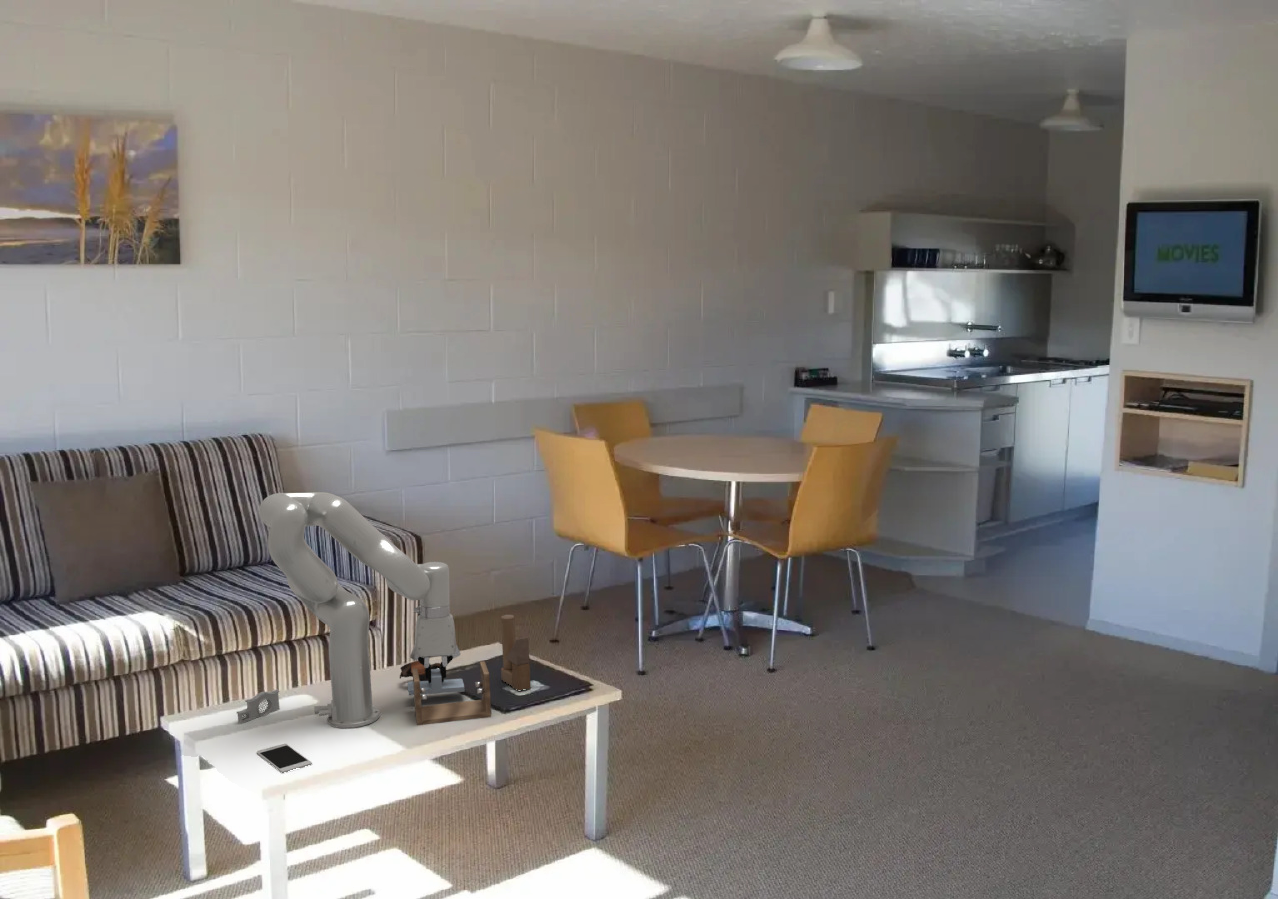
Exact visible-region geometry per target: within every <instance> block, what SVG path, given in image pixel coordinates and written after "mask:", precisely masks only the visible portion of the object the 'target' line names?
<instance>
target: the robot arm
mask: <svg viewBox="0 0 1278 899" xmlns="http://www.w3.org/2000/svg"><path fill="white" fill-rule="evenodd" d="M258 509H259V510H258V511H259V512H258V515H259V517H260V520H261V521H262V523H263V524H264V525H265V526H267V527H268V528H269V532H268V538H267V539H268V540H267V543H268V544H267V547H268V553H269V555H270V557H271V560H272V561H273V563H274V564H275V565H276V566H277V567H278V569H279V570H280V571H281V572H282V573H283V575H284V576H285V577H286V581H287V584H288V586H289V588H290V590H291V591H292V592H293V593H294V595H295V596H296V597H297V598H298V599H299V600H300V601H301V602H302V603H303V605H305V607H307V608H308V610H309V611H311V613H312V614H313V615H314V616H315V617H316V618H317V619H318V620H320V621H321V622H322V623H323V624H325V625H326V626H328V627H329V638H328V660H329V673H330V687H331V698H332V699H331V700H330V703H326V705H316V706H315V705H314V706H313V711H314V712H313V713H314V715H318V716H319V717H324V716H327V717H326V720H327V723H328V725H330V726H331V727H334V726H335V728H339V729H340V728H341V729H346V728H347V729H349V728H350V727H351V728H359V727H362V726H363V727H364V726H367V725H369V724H372V723H375V722H376V721H377V720H378V719H379V718H380V710H379V709H378V708H376V707H374V706H373V693H372V692H373V691H372V677H371V676H372V675H371V665H370V662H371V660H370V650H369V649H370V648H369V647H370V646H369V629H370V612H369V609H368V606H367V605H366V603H365V602H364V601H363V600H362V599H361V598H360V597H359V596H357V595H355V594H353V593H351V592H349V591H347V589H345V588H344V587H343V586H342V585H341V584H340V583H339V581H338V578H337V576H336V574H335V572H334V571H333V570H332V568H331V567H329V565H327V564H326V563H325V562H324V561H323V560H322V559H321V558H320V557H319V556H318V555H317V554H316V553H315V551H314V550H313V549H312V548H311V546H309V544H308V543H307V541H306V538H305V530H306V527H313V526H314V527H316V526H318V527H320V528H322V529H323V530H324V531H325V532H327V534H329V535H330V536H331V537H332V538H333V539H334V540H336V542H338V543H339V544H340V545H341V547H343V548H344V549H345V550H346V551H347V552H349V554H351V555H352V556H353V557H354V558H355V559H356V560H358V561H359V562H360V563H361V564H363V565H365V566H367V567H369V568H370V569H371V570H373V571H375V572H376V573H377V574H379V575H381V576H382V577H383V578H384V579H385V582H386V584H387V587H388V588H389V589H390V590H391V591H392V592H394V593H395V594H397V595H400V596H402V597H403V598H405V599H407V600H409V601H419V605H418V606H417V607H414V608H413V613H415V614H418V616H416V617H417V618H416V623H415V630H414V632H415V634H414V646H413V648H412V650H411V652H410V654H409V657H410V659H411V660H414V661H419V662H420V663H421V664H422V665H423V666H424V667H425V679H428V683H431V666H430V665H431V663H430V658H434V657H436V658H437V657H441V661H440V663H441V665H440V673H441V677H442V682H444V680H445V678H447V666H448V665H449V663H451V662H452V661H453V659H455V658H456V659H457V658H458V657H460V656H461V651H460V649H459V647H458V645H457V641H456V629H455V628H456V626H455V621H454V616H453V614H451V613H450V611H451V610H450V608H451V607H450V606H451V605H450V568H449V565H448V564H447V563H445V562H441V561H428V562H424V563H417V564H416V563H415V561H414V560H412V559H411V558H410V557H409V556H408V555H407V554H405V552H403V551H402V550H401V549H399V548H398V547H397V546H396V545H395V544H394V543H393V542H392V541H391V540H390V539H388V538H387V537H386V536H385V535H384V534H382V532H380V531H379V530H378V529H377V528H376V527H375V526H374V525H373V524H372V523H371V522H370V521H368V519H366V518H365V517H364V515H362V514H361V513H360V512H359V511H358V510H357V509H356V508H355V507H354V506H352V505H351V503H349V502H348V501H347V500H346V499H345V498H343V497H341V496H338V495H336V494H333V493H330V492H323V491H320V492H319V491H317V492H314V491H313V492H277V493H273V494H270V495H268V496H267V497H265V498H264V499H263V500H262V501H261V503H260V506H259V508H258ZM351 728H350V729H351Z"/></svg>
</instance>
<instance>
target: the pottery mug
mask: <svg viewBox="0 0 1278 899" xmlns="http://www.w3.org/2000/svg"><path fill="white" fill-rule="evenodd" d="M440 665H441V662H435V663H432V664H431V663H430V666H431V669H440ZM414 668H417V670H418V675H419V680H420V681H428V679H425V667H424V666H423V665H422V664H421V663H420V662H419V661H416V660H414V661H412V662H408V663H406V664H404V665H401V667H400V668H399V669H400V671H401V672H400V674H399V679H400V680H401V678H411V677H412V678H413V671H412V669H414Z"/></svg>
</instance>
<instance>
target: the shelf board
mask: <svg viewBox="0 0 1278 899" xmlns="http://www.w3.org/2000/svg"><path fill="white" fill-rule="evenodd" d="M406 683H407V692H408V696H414V687H413V681H408V682H406ZM420 688H425V689H426V692H425V693H420V695H424V694H427V695H432V694H433V695H435V694H447V693H448V694H449V693H450V694H451V693H462V692H463V693H465V684H464V681H463V678H452V679H451V678H450V679H444V682H442V677H441V673H440V669H439V668H437V669H431V683H428V681H420Z"/></svg>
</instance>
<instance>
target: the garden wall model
mask: <svg viewBox="0 0 1278 899" xmlns="http://www.w3.org/2000/svg"><path fill="white" fill-rule="evenodd" d="M279 693H280V690H279V688H277V689H274V690H272V691H261V692H258V694H256V695H255V696H253V697H252V698H249V699H245V700H244V701H245V703H246V707H247V708H243V709H241V710H239V711H236V714H237V722H238V724H243V723H246V722H249V721H251V720H254V719H257V718H259V717H262V716H267V715H269V714H270V713H273V712H276V711H278V710H280V699H279Z"/></svg>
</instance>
